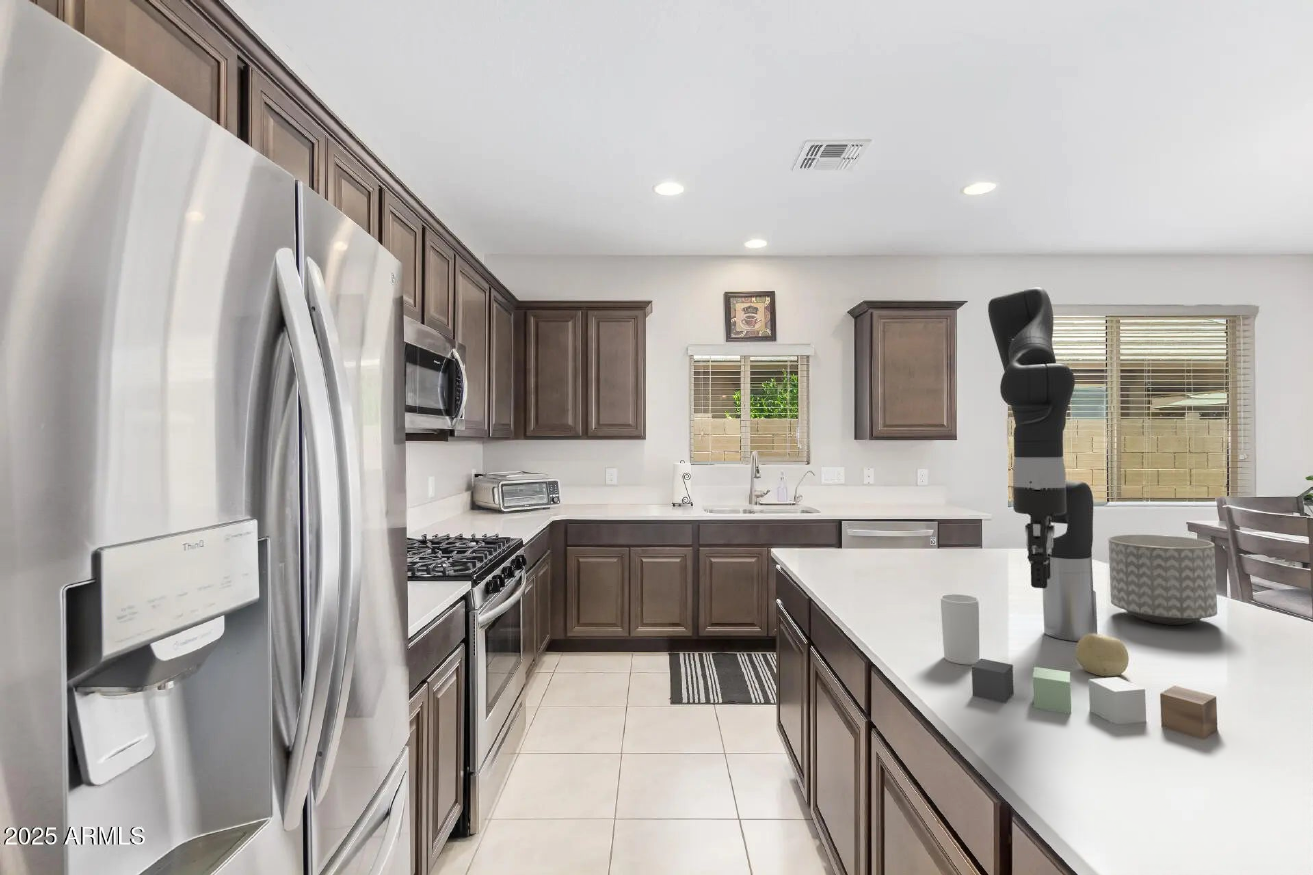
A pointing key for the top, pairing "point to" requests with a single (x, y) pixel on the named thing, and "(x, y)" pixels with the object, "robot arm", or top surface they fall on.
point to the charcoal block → (992, 680)
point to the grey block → (1117, 700)
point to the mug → (960, 628)
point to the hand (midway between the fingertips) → (1041, 582)
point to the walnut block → (1188, 712)
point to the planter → (1163, 577)
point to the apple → (1102, 655)
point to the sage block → (1052, 690)
